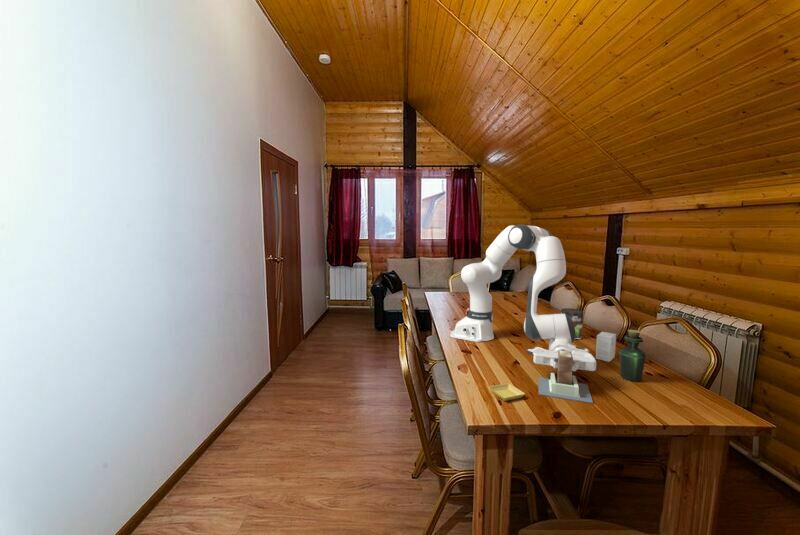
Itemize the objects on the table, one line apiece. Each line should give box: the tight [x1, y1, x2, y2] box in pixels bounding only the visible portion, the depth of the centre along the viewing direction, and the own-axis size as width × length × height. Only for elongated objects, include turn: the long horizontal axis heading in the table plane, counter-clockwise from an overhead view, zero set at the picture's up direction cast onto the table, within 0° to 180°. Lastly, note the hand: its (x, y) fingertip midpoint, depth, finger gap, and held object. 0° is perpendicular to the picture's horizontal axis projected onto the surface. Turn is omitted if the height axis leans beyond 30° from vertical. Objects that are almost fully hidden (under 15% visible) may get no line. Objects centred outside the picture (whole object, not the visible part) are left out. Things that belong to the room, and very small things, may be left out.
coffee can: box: [560, 307, 584, 340], centre depth 175 cm, size 10×10×14 cm
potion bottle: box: [618, 329, 647, 382], centre depth 125 cm, size 8×8×18 cm
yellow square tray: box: [488, 382, 526, 402], centre depth 112 cm, size 9×9×2 cm
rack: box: [549, 371, 580, 398], centre depth 116 cm, size 9×10×3 cm
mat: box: [537, 376, 594, 404], centre depth 116 cm, size 16×14×1 cm
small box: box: [595, 331, 617, 362], centre depth 145 cm, size 8×6×10 cm
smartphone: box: [526, 346, 547, 356], centre depth 148 cm, size 9×2×16 cm
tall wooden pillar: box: [556, 350, 573, 385], centre depth 115 cm, size 4×6×11 cm, turn 158°
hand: (565, 367), depth 114 cm, fingers closed on tall wooden pillar, 4 cm apart
